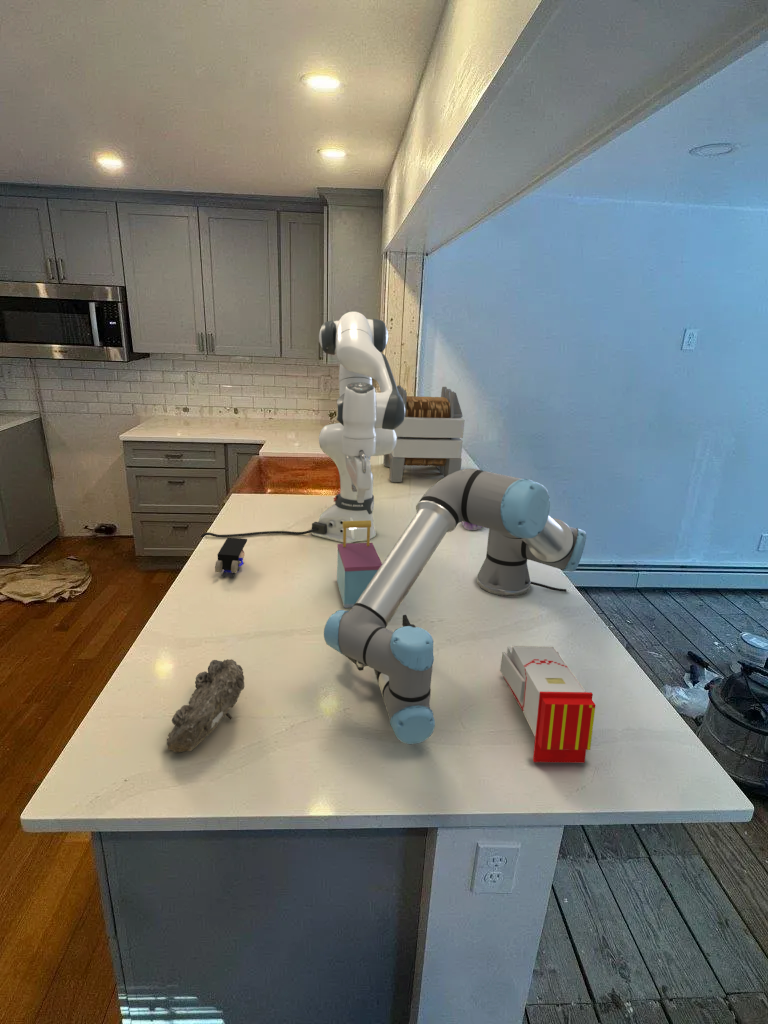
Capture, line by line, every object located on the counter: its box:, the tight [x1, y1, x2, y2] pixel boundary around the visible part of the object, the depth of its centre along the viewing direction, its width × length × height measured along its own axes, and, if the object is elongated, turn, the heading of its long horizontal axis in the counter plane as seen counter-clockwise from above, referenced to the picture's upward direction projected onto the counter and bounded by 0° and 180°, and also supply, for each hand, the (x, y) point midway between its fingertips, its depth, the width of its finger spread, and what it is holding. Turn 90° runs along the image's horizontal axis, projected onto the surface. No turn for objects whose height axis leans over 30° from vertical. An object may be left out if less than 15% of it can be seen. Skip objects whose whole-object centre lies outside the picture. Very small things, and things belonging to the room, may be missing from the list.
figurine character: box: [214, 537, 248, 578], centre depth 166 cm, size 7×8×15 cm
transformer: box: [383, 384, 465, 483], centre depth 268 cm, size 34×33×41 cm
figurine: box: [461, 522, 483, 531], centre depth 207 cm, size 9×10×15 cm
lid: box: [336, 520, 383, 571], centre depth 152 cm, size 16×10×9 cm, turn 12°
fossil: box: [166, 658, 245, 754], centre depth 106 cm, size 22×10×15 cm
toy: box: [499, 645, 597, 764], centre depth 112 cm, size 12×13×30 cm
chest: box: [336, 549, 378, 609], centre depth 156 cm, size 15×10×10 cm, turn 12°
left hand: (357, 496), depth 154 cm, fingers open, 8 cm apart
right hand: (375, 621), depth 132 cm, fingers open, 13 cm apart
